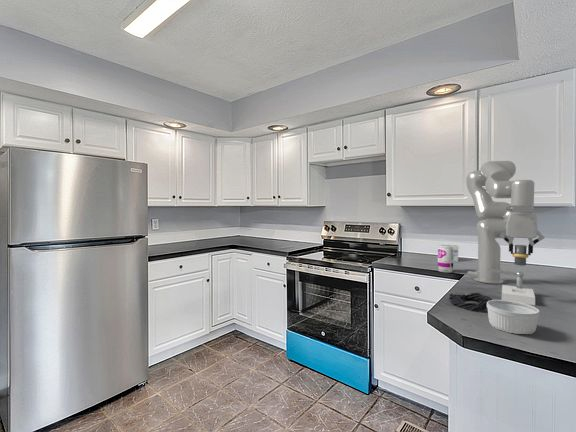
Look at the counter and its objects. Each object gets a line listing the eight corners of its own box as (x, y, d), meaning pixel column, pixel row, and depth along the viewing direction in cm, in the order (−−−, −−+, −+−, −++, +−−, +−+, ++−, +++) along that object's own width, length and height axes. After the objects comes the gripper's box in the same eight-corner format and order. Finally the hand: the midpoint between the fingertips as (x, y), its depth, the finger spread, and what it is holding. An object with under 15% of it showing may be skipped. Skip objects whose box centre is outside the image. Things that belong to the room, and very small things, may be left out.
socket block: (501, 300, 123) (502, 280, 123) (502, 291, 136) (502, 273, 136) (535, 305, 117) (535, 284, 117) (532, 295, 130) (532, 276, 130)
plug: (512, 264, 125) (513, 245, 125) (512, 263, 129) (512, 244, 129) (528, 266, 122) (529, 246, 122) (527, 264, 126) (528, 245, 126)
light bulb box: (441, 260, 218) (441, 245, 217) (440, 259, 224) (441, 244, 224) (458, 261, 213) (458, 246, 213) (457, 260, 220) (457, 245, 219)
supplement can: (444, 273, 175) (445, 247, 174) (434, 270, 183) (434, 245, 182) (456, 272, 177) (456, 246, 177) (445, 269, 185) (446, 245, 184)
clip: (489, 271, 140) (489, 267, 140) (523, 275, 131) (524, 271, 131) (488, 272, 138) (488, 268, 138) (523, 276, 129) (523, 272, 129)
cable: (494, 315, 107) (494, 303, 106) (449, 309, 113) (449, 297, 113) (488, 302, 122) (488, 291, 122) (448, 297, 128) (448, 286, 128)
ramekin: (547, 340, 86) (547, 316, 86) (492, 333, 91) (492, 310, 90) (529, 323, 98) (530, 302, 98) (482, 318, 103) (482, 297, 103)
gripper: (496, 210, 127) (495, 253, 128) (550, 210, 117) (548, 257, 118) (496, 209, 133) (495, 251, 134) (548, 210, 123) (546, 255, 124)
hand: (520, 253), depth 126 cm, fingers closed on plug, 5 cm apart
